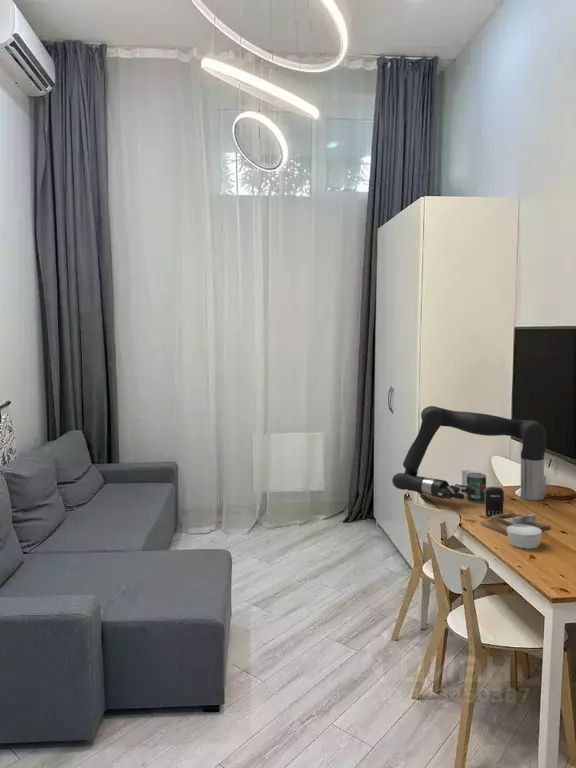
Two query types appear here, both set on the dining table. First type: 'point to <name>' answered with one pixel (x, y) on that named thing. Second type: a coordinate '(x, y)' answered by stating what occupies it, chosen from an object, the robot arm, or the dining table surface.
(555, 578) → the dining table surface
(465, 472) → the medicine box
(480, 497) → the canned tomato
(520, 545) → the ramekin
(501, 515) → the rail board
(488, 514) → the battery charger
